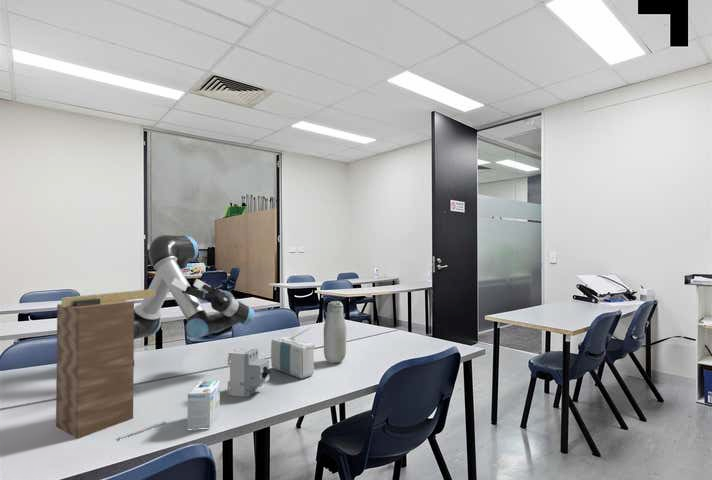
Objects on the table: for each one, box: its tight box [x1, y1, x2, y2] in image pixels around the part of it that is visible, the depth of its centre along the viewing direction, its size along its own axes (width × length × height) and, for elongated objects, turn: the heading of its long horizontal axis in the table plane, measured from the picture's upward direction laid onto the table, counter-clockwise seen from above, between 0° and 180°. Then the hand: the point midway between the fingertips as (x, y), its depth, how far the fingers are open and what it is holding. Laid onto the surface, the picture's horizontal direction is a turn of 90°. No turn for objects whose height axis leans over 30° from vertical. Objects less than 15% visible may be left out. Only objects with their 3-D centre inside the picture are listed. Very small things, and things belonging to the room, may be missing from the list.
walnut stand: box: [55, 299, 135, 439], centre depth 117 cm, size 14×15×38 cm
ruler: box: [117, 420, 167, 441], centre depth 111 cm, size 12×1×1 cm, turn 140°
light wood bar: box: [60, 288, 155, 307], centre depth 121 cm, size 3×26×2 cm, turn 148°
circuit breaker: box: [227, 347, 272, 398], centre depth 140 cm, size 8×14×15 cm, turn 78°
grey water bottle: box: [323, 300, 347, 364], centre depth 176 cm, size 10×10×28 cm
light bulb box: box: [187, 380, 221, 429], centre depth 116 cm, size 11×7×11 cm, turn 5°
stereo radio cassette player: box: [270, 326, 316, 380], centre depth 162 cm, size 21×8×20 cm, turn 47°
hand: (183, 281), depth 142 cm, fingers open, 13 cm apart
